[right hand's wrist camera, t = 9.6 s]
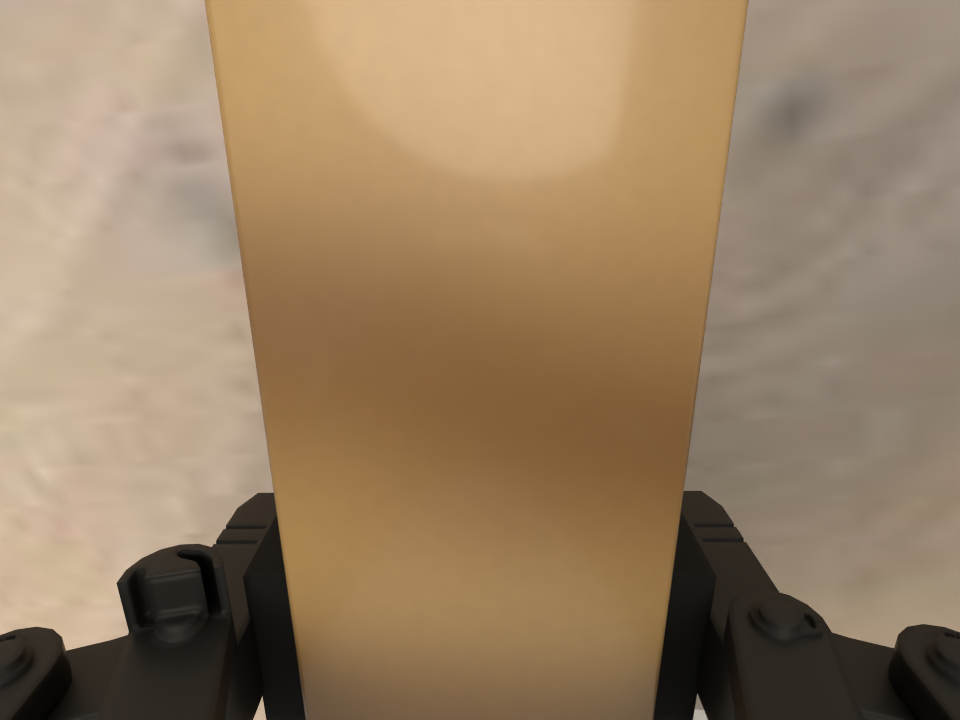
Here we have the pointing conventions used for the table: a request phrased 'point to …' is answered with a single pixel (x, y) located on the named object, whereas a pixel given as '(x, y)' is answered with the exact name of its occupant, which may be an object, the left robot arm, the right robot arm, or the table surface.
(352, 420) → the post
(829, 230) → the table surface
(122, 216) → the table surface
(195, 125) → the table surface
